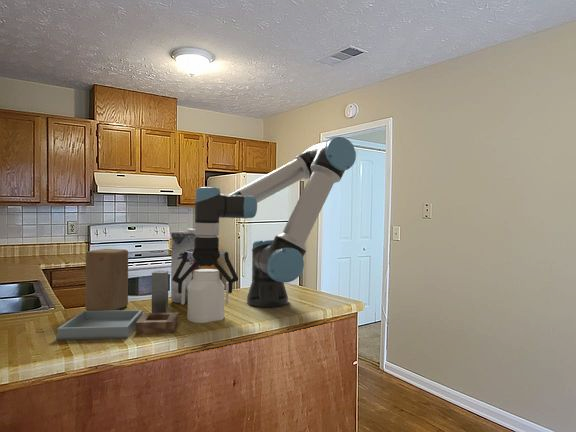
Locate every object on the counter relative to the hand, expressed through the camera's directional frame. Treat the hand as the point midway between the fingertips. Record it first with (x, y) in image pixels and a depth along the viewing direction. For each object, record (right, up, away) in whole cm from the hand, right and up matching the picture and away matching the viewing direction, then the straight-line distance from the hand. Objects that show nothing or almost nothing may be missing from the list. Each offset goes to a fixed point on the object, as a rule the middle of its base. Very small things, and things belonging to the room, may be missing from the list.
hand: (205, 303), depth 126 cm
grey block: (-15, -4, +3) cm, 16 cm away
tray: (-26, -5, -12) cm, 30 cm away
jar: (0, -5, 0) cm, 5 cm away
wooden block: (-35, -4, +10) cm, 37 cm away
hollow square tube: (-12, -5, -10) cm, 16 cm away
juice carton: (-12, -4, +23) cm, 26 cm away
